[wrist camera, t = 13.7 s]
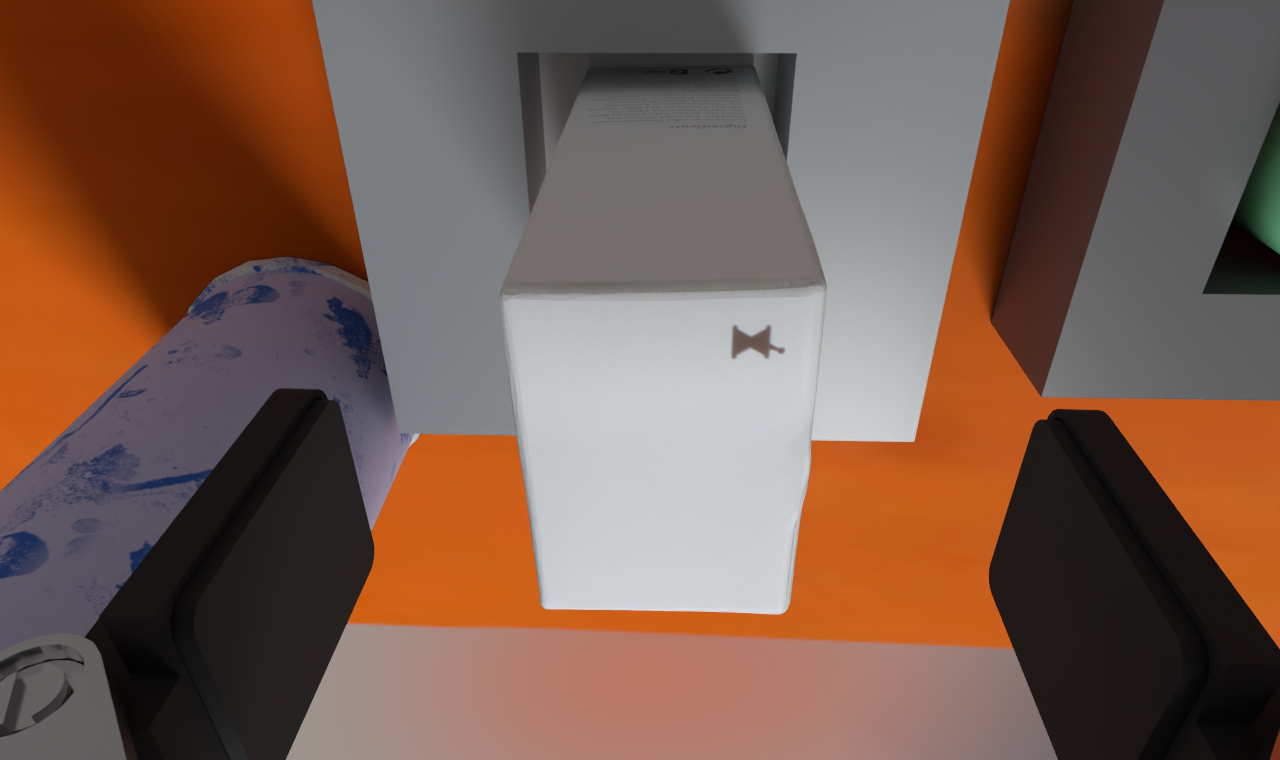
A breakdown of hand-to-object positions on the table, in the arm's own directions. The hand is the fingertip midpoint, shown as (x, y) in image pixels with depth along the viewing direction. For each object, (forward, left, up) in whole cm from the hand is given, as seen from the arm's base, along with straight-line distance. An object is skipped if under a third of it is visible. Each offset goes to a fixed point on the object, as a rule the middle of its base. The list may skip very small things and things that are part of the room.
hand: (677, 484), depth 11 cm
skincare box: (0, 0, -12) cm, 12 cm away
